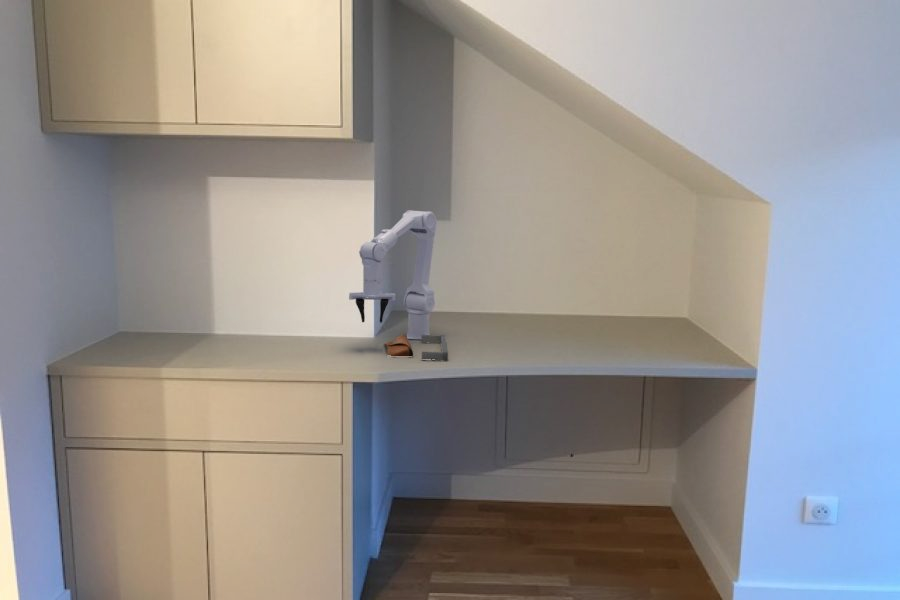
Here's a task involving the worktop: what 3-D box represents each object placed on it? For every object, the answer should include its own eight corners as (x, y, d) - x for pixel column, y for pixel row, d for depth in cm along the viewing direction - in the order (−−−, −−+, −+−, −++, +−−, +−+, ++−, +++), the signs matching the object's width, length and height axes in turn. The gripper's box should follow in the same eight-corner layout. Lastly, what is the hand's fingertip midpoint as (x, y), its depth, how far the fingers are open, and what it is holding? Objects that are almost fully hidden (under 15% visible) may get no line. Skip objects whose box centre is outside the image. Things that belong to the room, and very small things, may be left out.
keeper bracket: (421, 342, 240) (421, 334, 240) (444, 342, 241) (444, 335, 240) (421, 360, 217) (421, 352, 216) (447, 361, 217) (447, 353, 217)
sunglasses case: (381, 344, 236) (392, 327, 236) (399, 354, 238) (410, 337, 238) (386, 358, 219) (397, 339, 218) (405, 368, 221) (416, 350, 220)
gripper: (348, 281, 219) (348, 324, 222) (394, 282, 220) (394, 324, 223) (350, 278, 226) (350, 319, 229) (395, 278, 227) (395, 320, 230)
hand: (372, 321), depth 226 cm, fingers open, 5 cm apart
